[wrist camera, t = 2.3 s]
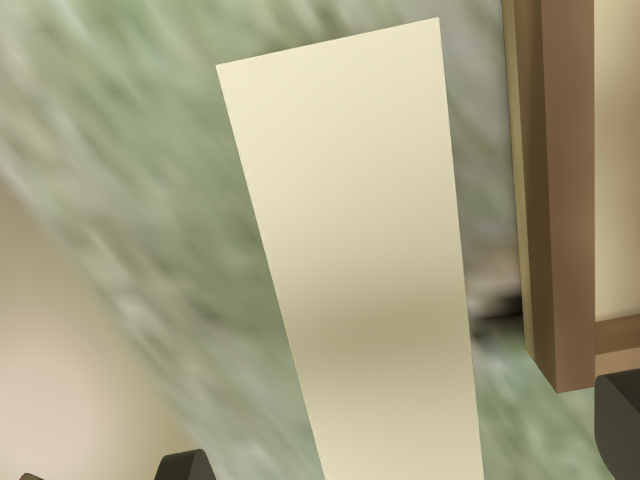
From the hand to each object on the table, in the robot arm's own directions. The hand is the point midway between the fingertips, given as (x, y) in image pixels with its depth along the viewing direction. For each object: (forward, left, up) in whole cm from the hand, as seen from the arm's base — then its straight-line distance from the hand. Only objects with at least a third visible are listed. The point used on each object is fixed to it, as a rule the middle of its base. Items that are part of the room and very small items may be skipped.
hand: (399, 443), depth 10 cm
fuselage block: (0, 0, -11) cm, 11 cm away
